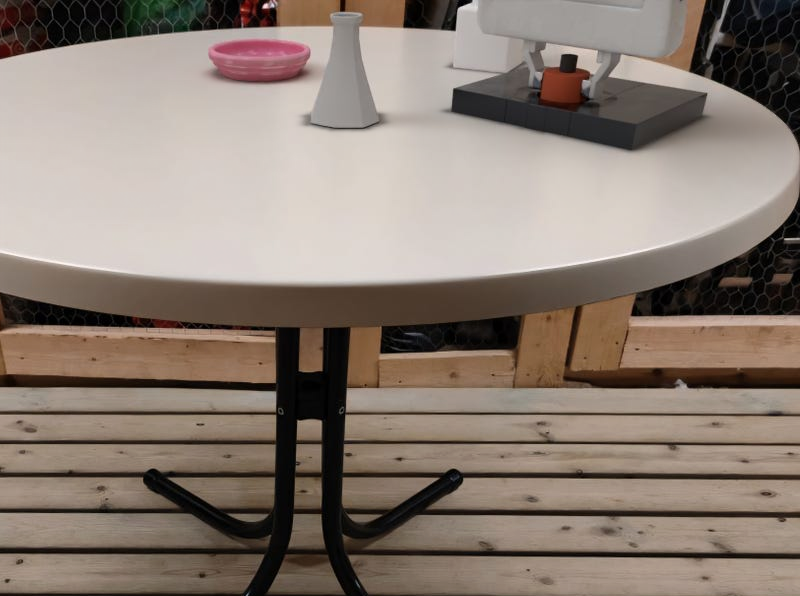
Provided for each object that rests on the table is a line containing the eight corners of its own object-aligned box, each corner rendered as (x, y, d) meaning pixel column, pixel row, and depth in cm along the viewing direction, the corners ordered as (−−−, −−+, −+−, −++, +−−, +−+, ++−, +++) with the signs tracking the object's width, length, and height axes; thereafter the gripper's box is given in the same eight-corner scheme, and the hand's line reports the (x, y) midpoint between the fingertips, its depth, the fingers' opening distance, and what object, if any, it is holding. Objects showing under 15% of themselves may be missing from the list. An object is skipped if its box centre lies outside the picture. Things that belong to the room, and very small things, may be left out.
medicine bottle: (523, 63, 108) (536, -40, 101) (506, 74, 102) (519, -35, 96) (470, 58, 110) (479, -43, 104) (451, 68, 105) (460, -38, 99)
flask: (387, 115, 86) (392, 10, 81) (369, 133, 81) (373, 22, 75) (321, 109, 88) (321, 7, 83) (299, 127, 82) (298, 18, 77)
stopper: (591, 112, 84) (601, 55, 81) (569, 121, 81) (579, 62, 78) (552, 105, 87) (561, 49, 84) (530, 112, 84) (538, 55, 81)
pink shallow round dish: (290, 60, 109) (290, 34, 108) (325, 80, 100) (325, 52, 98) (198, 68, 106) (196, 41, 104) (225, 89, 96) (224, 60, 94)
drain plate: (701, 118, 85) (707, 92, 84) (630, 152, 75) (635, 124, 74) (531, 86, 97) (534, 64, 96) (450, 113, 87) (452, 88, 86)
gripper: (716, -60, 71) (678, 105, 79) (511, -72, 83) (495, 72, 91) (686, -55, 68) (649, 118, 75) (476, -69, 79) (462, 82, 87)
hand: (563, 93), depth 83 cm, fingers closed on stopper, 4 cm apart
